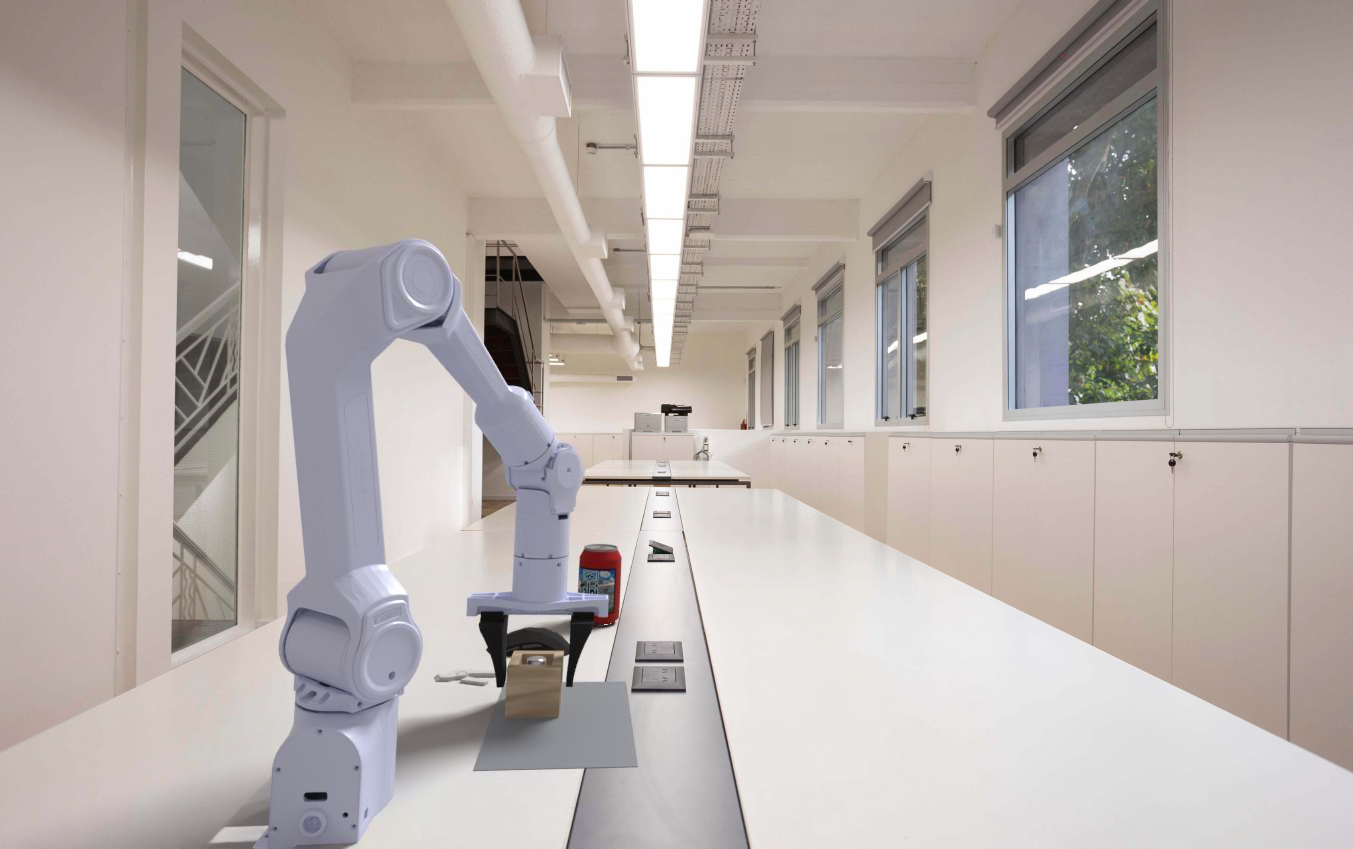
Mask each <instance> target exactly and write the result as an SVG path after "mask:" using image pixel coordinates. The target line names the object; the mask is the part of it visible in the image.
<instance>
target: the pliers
mask: <svg viewBox="0 0 1353 849" xmlns="http://www.w3.org/2000/svg"><path fill="white" fill-rule="evenodd" d="M482 678H496V676H495V670H485V669H475V668H474V669H473V668H467V669H466V668H465V669H464V668H462V669H461V668H459V669H458V668H457V669H455V670H453V671H450V672H447V673H438V674H436V675H435V676H434V677H433V679H434V682H435V683H436V682H452V681H457V680H459V681H460V682H459V683H460V684H471V685H475V686H487V685H489V680H485V679H482Z"/></svg>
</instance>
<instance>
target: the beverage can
mask: <svg viewBox="0 0 1353 849" xmlns="http://www.w3.org/2000/svg"><path fill="white" fill-rule="evenodd" d="M578 560H579V562H578V578H577V579H578V583H577V593H586V594H599V595H608V599H609V600H608V617H598V616H597V615H594V625H604V624H610V623H612V624H614V622H616V621H617V620H618V619H619V618H620V606H621V586H622V584H621V582H622V562H623V561H622V555H621V553H620V550H619V547H618V546H617V545H613V544H609V543H592V544H590V543H589V544H586V545H584V547H583V550H582V551H581V553H580V555H579V558H578ZM610 625H611V624H610Z"/></svg>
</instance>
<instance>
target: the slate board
mask: <svg viewBox="0 0 1353 849" xmlns="http://www.w3.org/2000/svg"><path fill="white" fill-rule="evenodd" d="M505 699H506V681H505V684H504V687H503V688H501V691H500V693H499V697H498V699H497V703H496V706H495V707H494V711H493V714H492V716H491V719H490V722H489V725H488V728H487V731H486V733H485V736H484V739H483V742H482V745H481V747H480V751H479V753H478V756H477V758H476V762H475V763H474V767H473V769H472V771H473V772H484V771H485V772H487V771H529V770H530V771H531V770H561V769H562V770H567V769H568V770H569V769H575V770H576V769H608V768H609V769H612V768H615V769H616V768H617V769H618V768H639V764H638V758H637V750H636V743H635V737H634V735H635V734H634V728H633V722H632V714H631V708H630V701H629V694H628V686H627V681H573V687H566V681H563V685H562V700H561V707H560V713H559V718H505Z"/></svg>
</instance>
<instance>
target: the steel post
mask: <svg viewBox="0 0 1353 849" xmlns="http://www.w3.org/2000/svg"><path fill="white" fill-rule="evenodd" d="M527 665H546V658H545V657H543V656H532V657H529V658H527Z"/></svg>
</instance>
